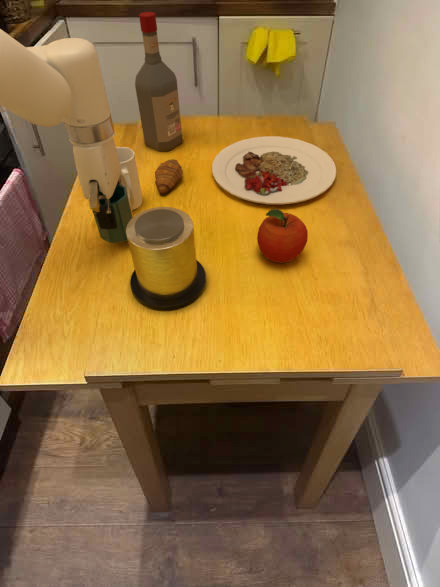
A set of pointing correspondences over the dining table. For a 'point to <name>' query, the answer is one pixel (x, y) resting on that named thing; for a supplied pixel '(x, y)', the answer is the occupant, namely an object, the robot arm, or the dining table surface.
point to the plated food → (274, 170)
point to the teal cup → (117, 215)
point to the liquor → (157, 93)
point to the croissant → (167, 175)
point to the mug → (130, 176)
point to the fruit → (281, 236)
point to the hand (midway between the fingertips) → (113, 214)
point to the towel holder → (164, 259)
